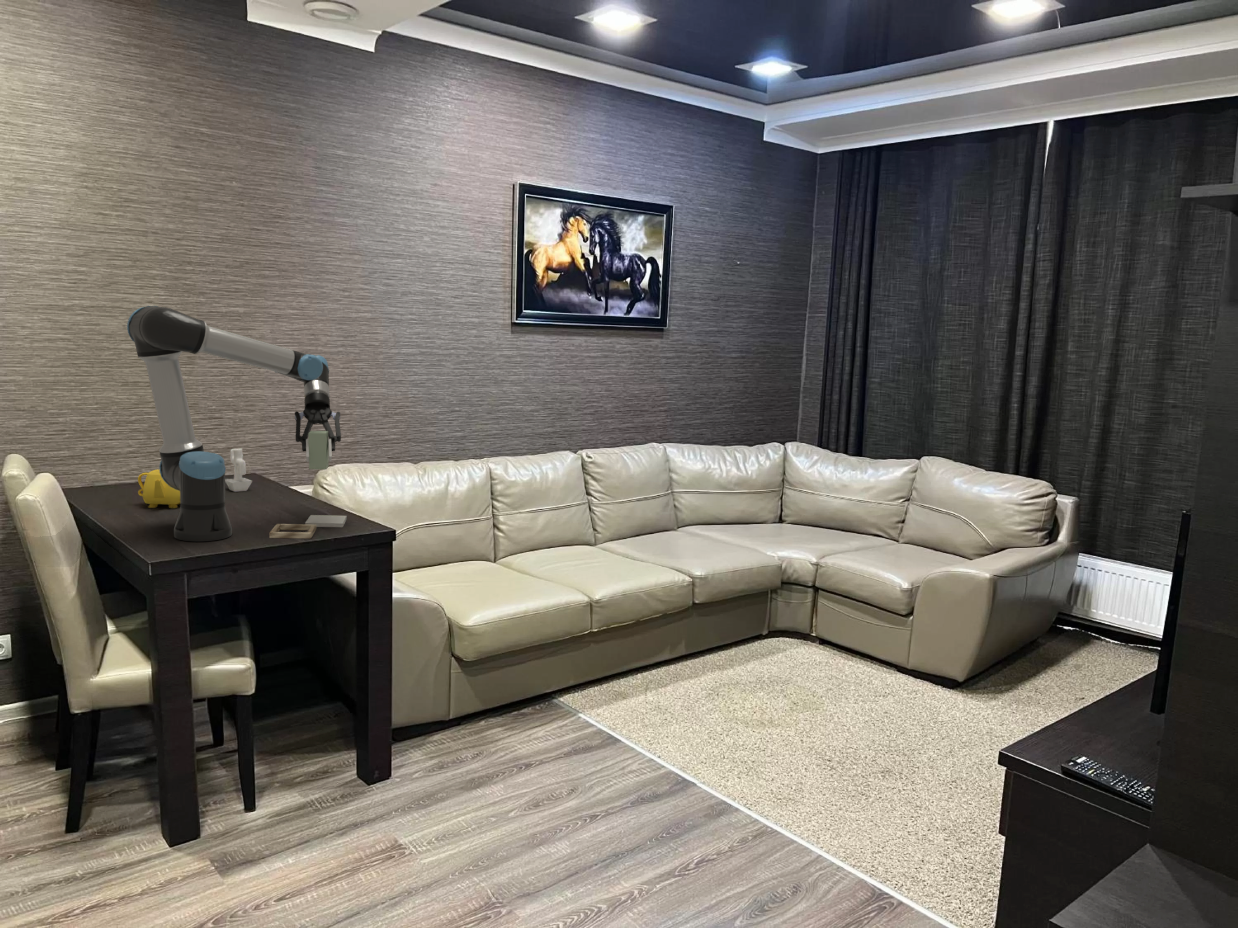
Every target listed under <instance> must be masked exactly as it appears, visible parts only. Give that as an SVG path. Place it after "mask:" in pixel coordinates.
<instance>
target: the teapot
mask: <svg viewBox="0 0 1238 928" xmlns="http://www.w3.org/2000/svg"><path fill="white" fill-rule="evenodd" d="M144 476H146V477H145V480H144V482H143V480H142V477H144ZM137 482H138V484H139V486H140V489H138V491H137V493H138V496H140V497H142V499H143V502H144V503H145V504H146V505H147V504H148V506H147V508H149V509H156V508H157V507H158V505H168V508H169V509H178V505H180V491H179V490H176V489H174V488H172V487H170V486H169V485H168V484H167V483H166V482H165V481H164V480H163V479H162V477H161V475H160V470H159V469H153V470H150V471H149V472H143V473H140V474H139V475H138V477H137Z"/></svg>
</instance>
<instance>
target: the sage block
mask: <svg viewBox="0 0 1238 928" xmlns="http://www.w3.org/2000/svg"><path fill="white" fill-rule="evenodd" d="M308 439H309V462H308V469H309V470H320V471H321V470H327V469H328V468H329V466H330V464H329V463H330V462H329V448H328V440H329V437H328V431H326V430H311V431H310V432H309V433H308Z"/></svg>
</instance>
